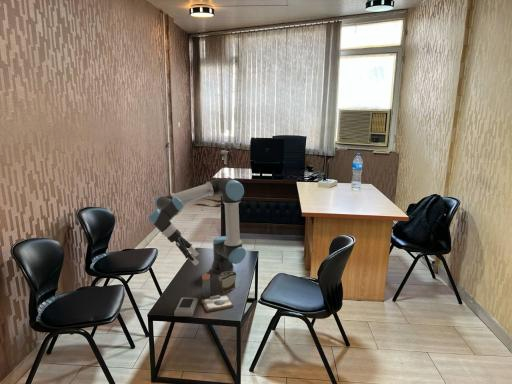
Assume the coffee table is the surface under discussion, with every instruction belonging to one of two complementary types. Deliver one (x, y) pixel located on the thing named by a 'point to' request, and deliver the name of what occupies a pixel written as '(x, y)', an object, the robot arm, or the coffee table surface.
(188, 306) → the grey framed panel
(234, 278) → the food container
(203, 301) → the clipboard
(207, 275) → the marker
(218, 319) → the coffee table surface
